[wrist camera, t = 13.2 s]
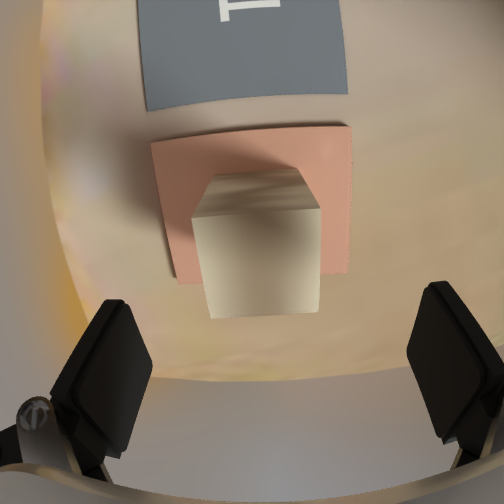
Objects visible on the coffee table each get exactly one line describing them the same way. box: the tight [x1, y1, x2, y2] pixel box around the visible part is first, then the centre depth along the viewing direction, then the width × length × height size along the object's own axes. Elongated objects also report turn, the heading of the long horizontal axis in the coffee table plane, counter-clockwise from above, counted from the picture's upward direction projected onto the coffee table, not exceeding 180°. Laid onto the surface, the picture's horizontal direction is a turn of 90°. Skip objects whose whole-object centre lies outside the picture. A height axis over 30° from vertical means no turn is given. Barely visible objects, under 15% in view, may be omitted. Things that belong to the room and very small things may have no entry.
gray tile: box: [138, 0, 348, 112], centre depth 13 cm, size 12×12×1 cm
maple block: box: [191, 169, 321, 319], centre depth 16 cm, size 5×5×7 cm
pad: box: [150, 126, 352, 284], centre depth 19 cm, size 12×10×1 cm
